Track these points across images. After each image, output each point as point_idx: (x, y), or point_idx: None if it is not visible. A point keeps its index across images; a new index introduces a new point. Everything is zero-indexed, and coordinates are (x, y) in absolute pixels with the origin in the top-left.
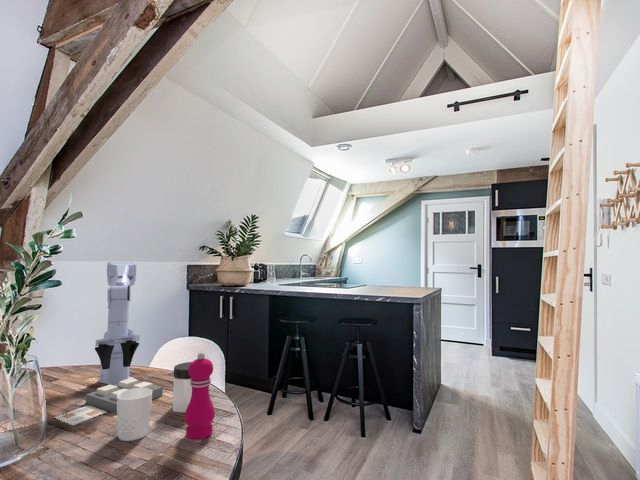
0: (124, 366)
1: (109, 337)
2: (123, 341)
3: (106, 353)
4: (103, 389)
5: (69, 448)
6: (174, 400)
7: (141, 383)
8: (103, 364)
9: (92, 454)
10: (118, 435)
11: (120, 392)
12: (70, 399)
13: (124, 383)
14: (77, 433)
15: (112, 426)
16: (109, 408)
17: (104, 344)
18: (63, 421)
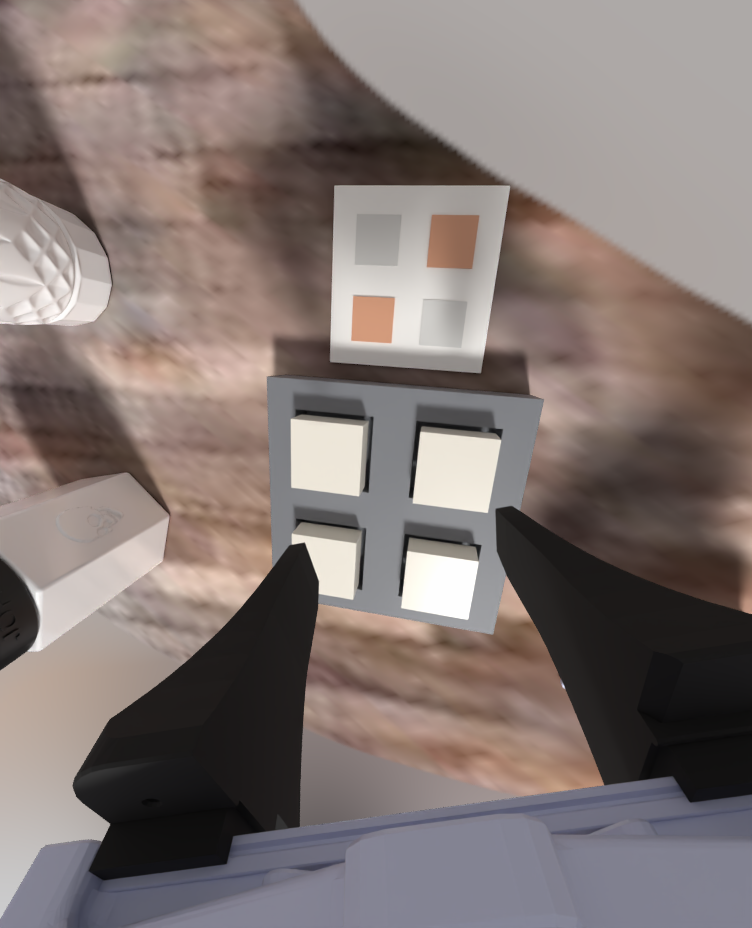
0: (292, 545)
1: (367, 924)
2: (301, 851)
3: (574, 644)
4: (451, 445)
5: (138, 37)
6: (82, 486)
7: (342, 575)
8: (513, 528)
9: (27, 68)
10: (60, 208)
11: (323, 448)
12: (667, 397)
13: (428, 553)
14: (245, 151)
15: (189, 278)
16: (335, 379)
17: (688, 772)
18: (417, 187)
